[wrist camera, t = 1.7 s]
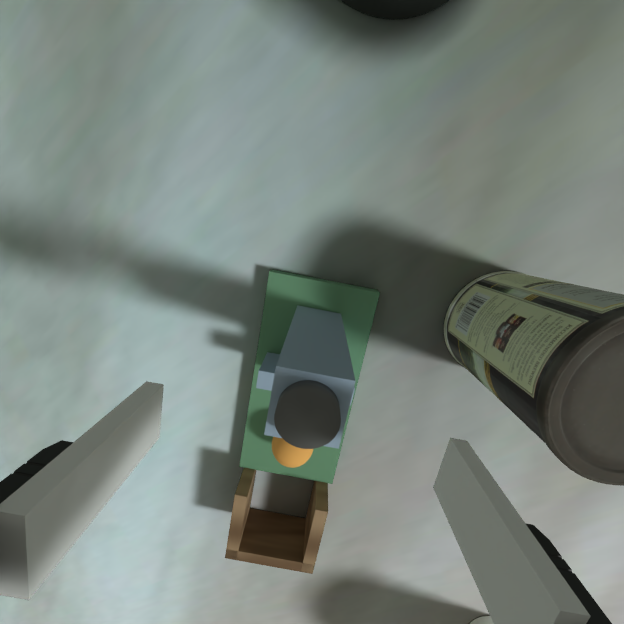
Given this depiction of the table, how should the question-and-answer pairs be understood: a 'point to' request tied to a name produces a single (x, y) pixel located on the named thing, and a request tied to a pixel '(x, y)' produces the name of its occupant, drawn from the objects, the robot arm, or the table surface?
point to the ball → (289, 453)
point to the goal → (276, 530)
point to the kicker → (309, 381)
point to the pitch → (274, 327)
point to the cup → (483, 620)
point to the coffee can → (549, 362)
